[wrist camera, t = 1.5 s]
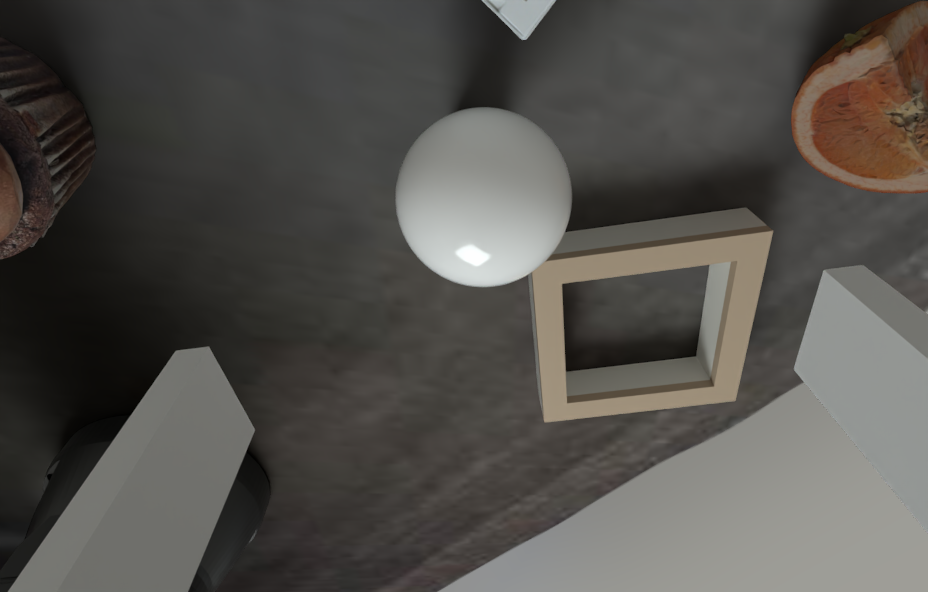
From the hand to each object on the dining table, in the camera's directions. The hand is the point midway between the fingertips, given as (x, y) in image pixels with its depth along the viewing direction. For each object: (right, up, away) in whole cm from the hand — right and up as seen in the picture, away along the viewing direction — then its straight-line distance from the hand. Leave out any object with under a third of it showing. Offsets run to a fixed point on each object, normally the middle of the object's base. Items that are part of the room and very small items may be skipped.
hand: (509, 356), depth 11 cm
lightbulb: (0, +9, +14) cm, 17 cm away
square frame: (+9, 0, +20) cm, 22 cm away
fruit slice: (+17, +11, +13) cm, 24 cm away
